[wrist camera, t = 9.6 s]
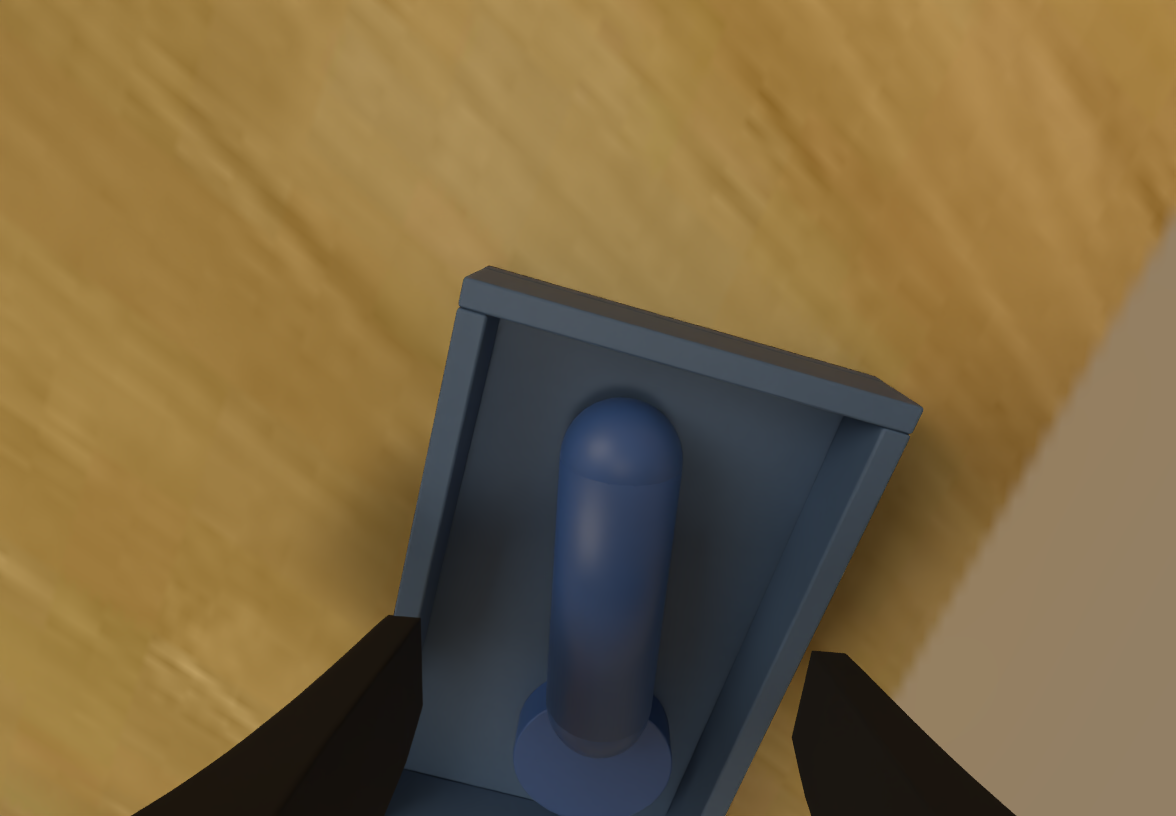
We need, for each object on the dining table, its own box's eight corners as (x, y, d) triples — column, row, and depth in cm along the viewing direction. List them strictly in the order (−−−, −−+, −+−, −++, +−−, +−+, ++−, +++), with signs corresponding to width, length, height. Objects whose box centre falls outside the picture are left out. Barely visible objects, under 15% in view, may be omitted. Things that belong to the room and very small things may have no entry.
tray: (487, 265, 13) (463, 276, 11) (876, 376, 14) (926, 408, 12) (379, 760, 18) (347, 837, 16) (670, 831, 19) (678, 915, 16)
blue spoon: (532, 375, 14) (515, 412, 11) (718, 389, 13) (741, 430, 11) (516, 779, 17) (500, 873, 15) (660, 791, 17) (668, 888, 15)
